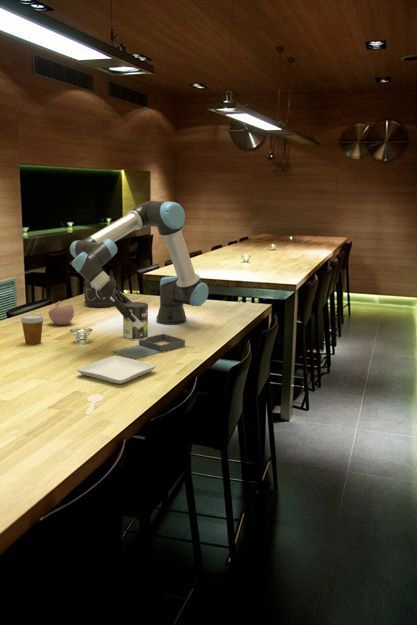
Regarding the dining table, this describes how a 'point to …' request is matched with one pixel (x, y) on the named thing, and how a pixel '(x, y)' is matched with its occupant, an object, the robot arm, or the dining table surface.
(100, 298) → the coffee canister
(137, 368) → the salad plate
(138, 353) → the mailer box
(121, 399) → the dining table surface
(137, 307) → the coffee can
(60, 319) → the pink apple
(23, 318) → the disposable coffee cup
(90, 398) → the spoon
